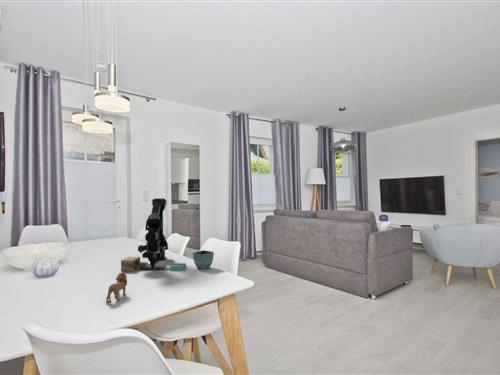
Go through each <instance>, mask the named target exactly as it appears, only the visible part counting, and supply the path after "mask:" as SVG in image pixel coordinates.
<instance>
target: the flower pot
mask: <svg viewBox="0 0 500 375" xmlns="http://www.w3.org/2000/svg"><path fill="white" fill-rule="evenodd" d="M214 254H215V253H214V251H210V250H205V249H204V250H198V251H195V252H193V253H192V257H193V261H194V262H193V263H194V264H195V267H196V268H197V269H200V270H205V269H208V268H210V267H211V266H212V264H213V261H214Z"/></svg>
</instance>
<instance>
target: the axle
mask: <svg viewBox="0 0 500 375" xmlns="http://www.w3.org/2000/svg"><path fill="white" fill-rule="evenodd" d="M166 268H167V262H166V261H158V262H155V265H154V268H151V265H150V262H149V261H140V265H139V269H140V270H166Z"/></svg>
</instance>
